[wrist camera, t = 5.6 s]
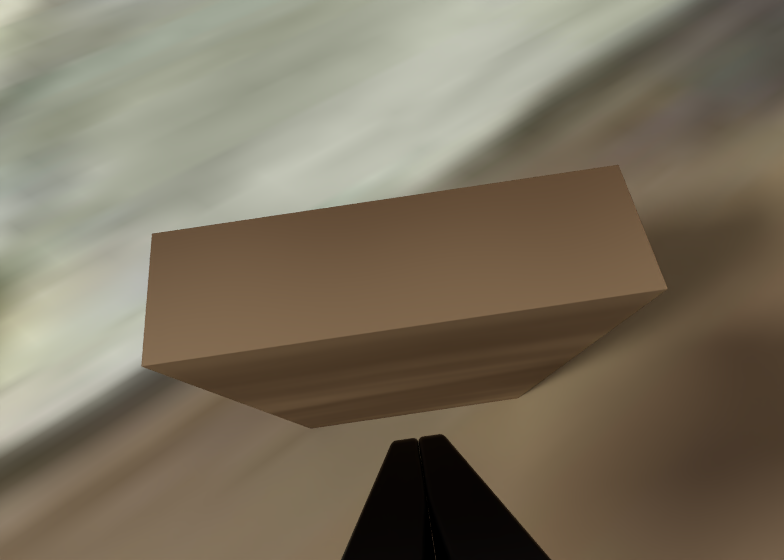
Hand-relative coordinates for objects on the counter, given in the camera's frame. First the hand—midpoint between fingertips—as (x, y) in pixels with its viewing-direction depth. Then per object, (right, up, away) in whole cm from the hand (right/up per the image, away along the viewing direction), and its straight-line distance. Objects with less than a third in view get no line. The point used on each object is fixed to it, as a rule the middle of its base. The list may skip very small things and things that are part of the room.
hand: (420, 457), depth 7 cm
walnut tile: (0, -1, +8) cm, 8 cm away
